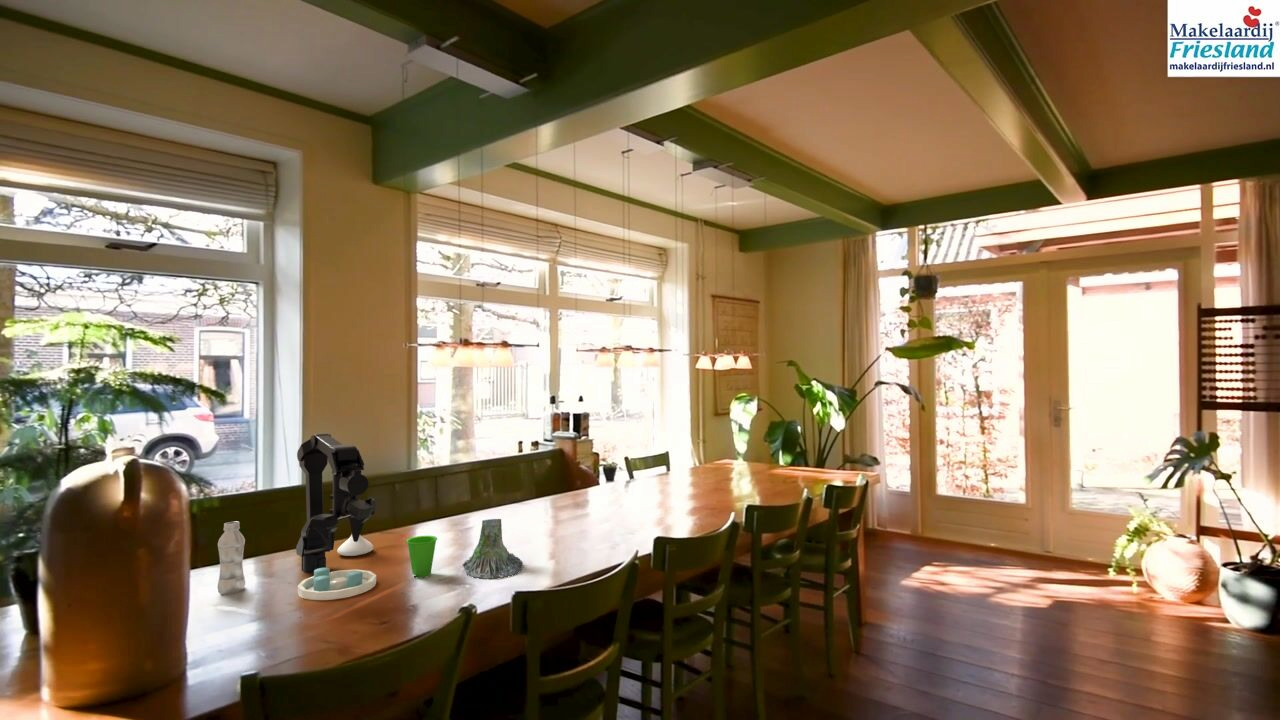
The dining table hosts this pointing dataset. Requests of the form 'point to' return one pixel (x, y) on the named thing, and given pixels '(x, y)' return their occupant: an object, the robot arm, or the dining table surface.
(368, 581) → the groove tray
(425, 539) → the cup
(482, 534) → the tree stump
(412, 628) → the dining table surface
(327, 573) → the bead seated
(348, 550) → the flower in vase
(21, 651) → the dining table surface
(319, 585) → the bead
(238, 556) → the plastic bottle
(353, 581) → the bead
